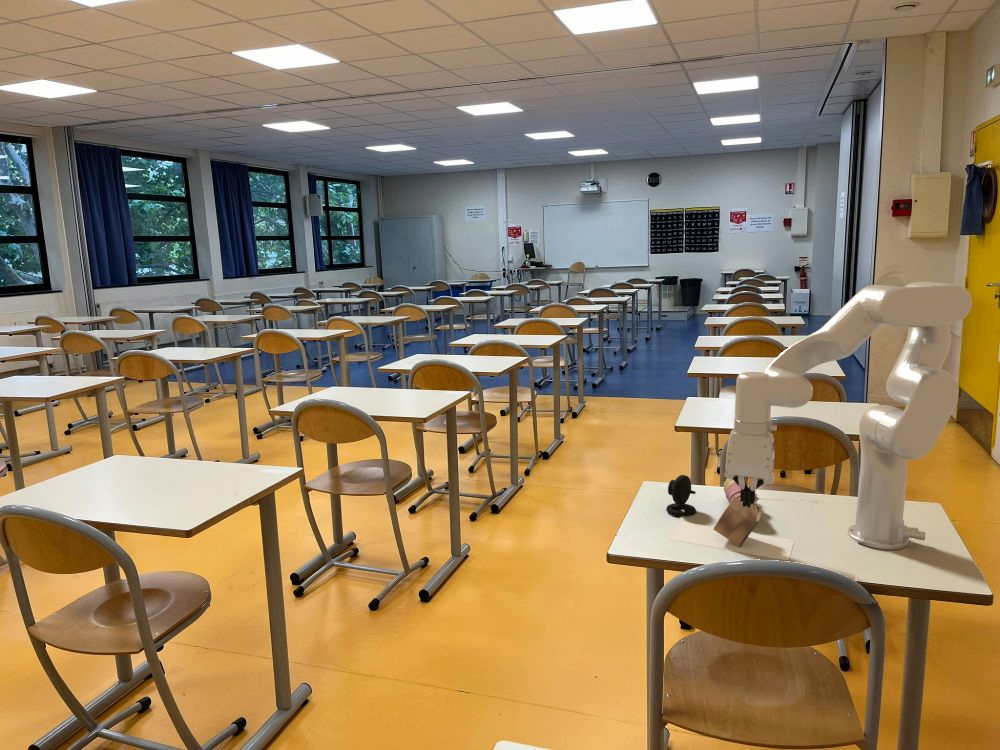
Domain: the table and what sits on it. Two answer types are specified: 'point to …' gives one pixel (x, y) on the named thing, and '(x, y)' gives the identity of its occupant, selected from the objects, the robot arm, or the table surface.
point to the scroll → (737, 493)
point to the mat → (752, 544)
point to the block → (737, 522)
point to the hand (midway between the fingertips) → (747, 504)
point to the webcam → (680, 496)
